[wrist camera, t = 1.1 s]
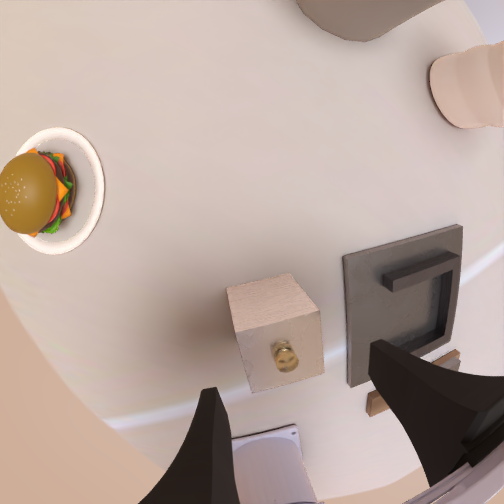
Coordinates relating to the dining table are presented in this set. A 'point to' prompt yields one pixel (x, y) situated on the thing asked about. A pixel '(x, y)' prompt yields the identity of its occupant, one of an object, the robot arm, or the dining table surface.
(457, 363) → the lever
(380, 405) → the rail
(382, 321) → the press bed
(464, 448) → the robot arm
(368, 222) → the dining table surface
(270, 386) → the block
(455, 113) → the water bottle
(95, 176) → the burger on plate
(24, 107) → the dining table surface
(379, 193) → the dining table surface
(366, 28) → the cup
